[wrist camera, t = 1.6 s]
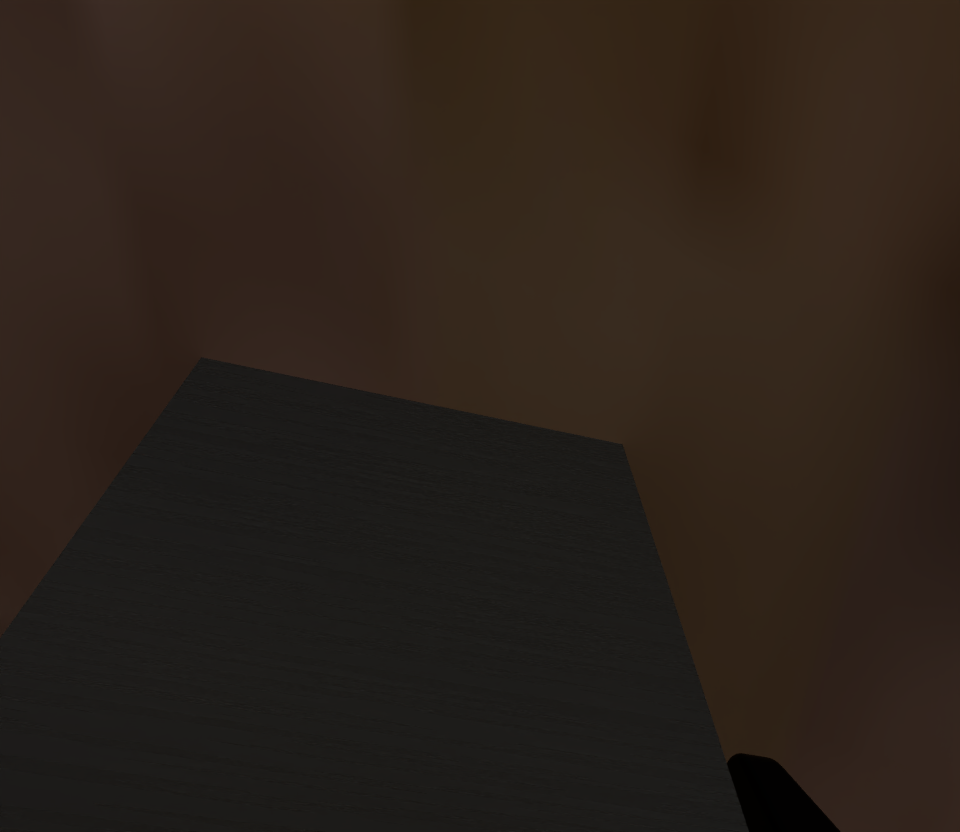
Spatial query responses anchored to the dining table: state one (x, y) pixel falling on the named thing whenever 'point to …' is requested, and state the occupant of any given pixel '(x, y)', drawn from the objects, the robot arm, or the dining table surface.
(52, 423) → the dining table surface
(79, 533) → the steel block
